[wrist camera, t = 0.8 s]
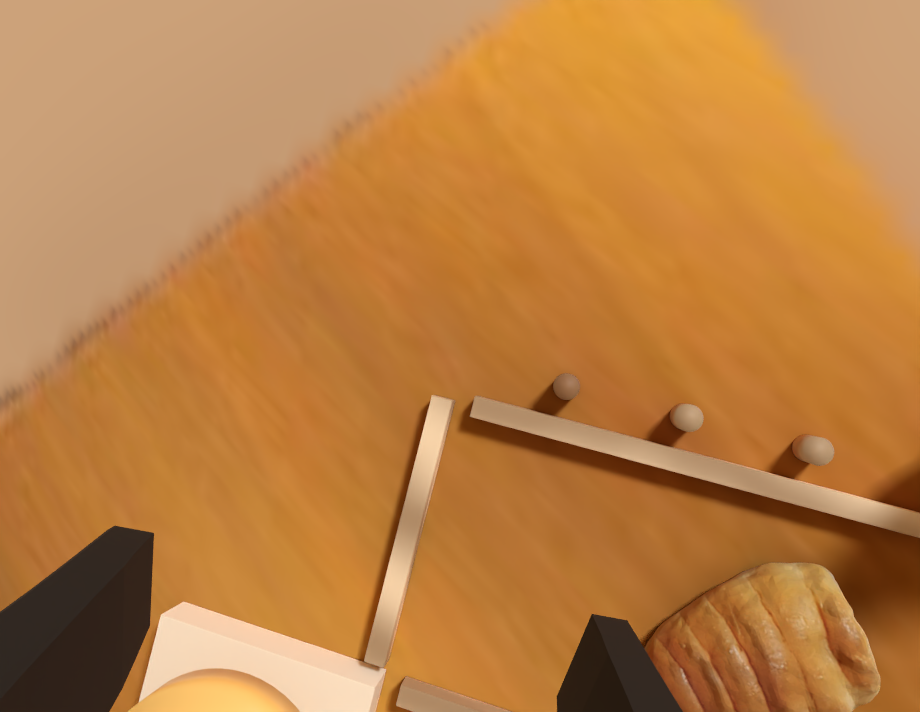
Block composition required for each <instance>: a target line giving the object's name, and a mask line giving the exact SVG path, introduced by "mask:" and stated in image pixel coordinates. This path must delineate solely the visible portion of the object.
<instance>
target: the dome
mask: <svg viewBox="0 0 920 712" xmlns="http://www.w3.org/2000/svg"><path fill="white" fill-rule="evenodd" d="M128 712H300V711H299V710H298V708H297V707H296V706H295V705H294V704H293V703H292V702H291V701H290V700H289V699H288V698H287V697H286V696H285V695H284V694H282V693H281V692H280V691H279V690H277V689H276V688H275V687H273V686H272V685H270V684H268V683H267V682H265V681H263V680H262V679H259V678H257V677H255V676H252V675H250V674H247V673H244V672H240V671H236V670H230V669H223V668H209V669H201V670H195V671H192V672H188V673H185V674H182V675H180V676H178V677H176V678H174V679H171V680H169V681H168V682H167V683H165V684H164V685H162V686H161V687H159V688H158V689H156V690H155V691H154V692H152V693H151V694H150V695H148V696H147V697H146V698H144V699H143V700H142V701H140V702H139V703H138V704H136V705H135V706H134V707H132V708H131V709H130V710H129V711H128Z"/></svg>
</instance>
